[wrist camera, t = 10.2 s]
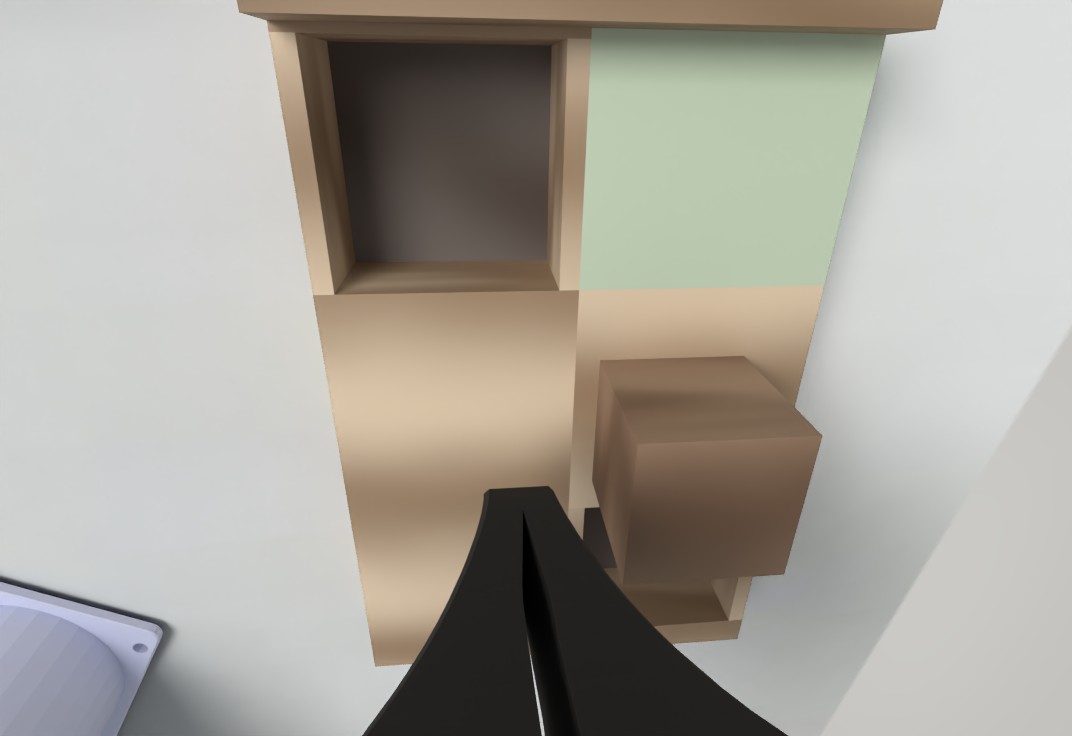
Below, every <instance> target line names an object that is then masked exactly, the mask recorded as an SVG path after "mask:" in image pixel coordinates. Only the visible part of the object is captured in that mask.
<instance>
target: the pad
mask: <svg viewBox="0 0 1072 736" xmlns="http://www.w3.org/2000/svg"><path fill="white" fill-rule="evenodd" d="M885 37H886V35H878V34H835V33H792V32H749V31H706V30H663V29H621V28H592V36H591V57H590V77H589V98H588V118H587V139H586V160H585V180H584V201H583V221H582V242H581V263H580V283H579V290H615V289H616V290H617V289H669V288H722V287H775V286H824V285H825V281H826V277H827V273H828V269H829V265H830V261H831V257H832V253H833V248H834V244H835V240H836V236H837V232H838V228H839V224H840V220H841V216H842V212H843V208H844V204H845V200H846V196H847V192H848V188H849V184H850V179H851V175H852V171H853V167H854V163H855V159H856V155H857V151H858V147H859V143H860V139H861V135H862V131H863V127H864V123H865V119H866V115H867V110H868V106H869V102H870V98H871V94H872V90H873V86H874V82H875V78H876V74H877V70H878V66H879V62H880V58H881V54H882V50H883V46H884V41H885Z"/></svg>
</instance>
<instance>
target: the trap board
mask: <svg viewBox="0 0 1072 736" xmlns="http://www.w3.org/2000/svg"><path fill="white" fill-rule="evenodd" d="M237 3H238V8H239V12H240V13H244V14H247V15H251V16H254V17H257V18H261V19H264V20H267V24H268V30H269V36H270V42H271V48H272V54H273V60H274V66H275V72H276V78H277V84H278V90H279V95H280V101H281V107H282V113H283V119H284V125H285V131H286V137H287V143H288V149H289V155H290V161H291V167H292V173H293V179H294V185H295V191H296V197H297V203H298V209H299V215H300V221H301V227H302V233H303V239H304V244H305V250H306V256H307V262H308V268H309V274H310V280H311V286H312V292H313V298H314V304H315V310H316V316H317V322H318V328H319V334H320V340H321V346H322V352H323V358H324V364H325V370H326V376H327V382H328V388H329V393H330V399H331V405H332V411H333V417H334V423H335V429H336V435H337V441H338V447H339V453H340V459H341V465H342V471H343V477H344V483H345V489H346V495H347V501H348V507H349V513H350V519H351V525H352V531H353V537H354V542H355V548H356V554H357V560H358V566H359V572H360V578H361V584H362V590H363V596H364V602H365V608H366V614H367V620H368V626H369V632H370V638H371V644H372V650H373V656H374V662H375V667H376V666H389V665H402V664H413V663H414V661H415V659H416V658H417V656H418V654H419V653H420V651H421V650H422V648H423V646H424V645H425V643H426V641H427V640H428V638H429V636H430V634H431V632H432V631H433V629H434V627H435V625H436V624H437V622H438V620H439V618H440V616H441V614H442V612H443V610H444V608H445V606H446V604H447V602H448V600H449V598H450V596H451V594H452V592H453V589H454V587H455V585H456V583H457V580H458V578H459V576H460V574H461V572H462V569H463V567H464V564H465V562H466V559H467V556H468V554H469V551H470V548H471V545H472V543H473V540H474V537H475V534H476V531H477V527H478V524H479V520H480V516H481V512H482V507H483V498H484V493H485V492H486V491H487V490H489V489H498V488H517V487H536V486H549V487H550V488H551V489H552V490H553V491H554V493H555V495H556V497H557V499H558V501H559V503H560V505H561V506H562V508H563V510H564V512H565V513H566V515H567V517H568V518H569V520H570V521H571V523H572V525H573V526H574V528H575V529H576V531H577V533H578V534H579V536H580V537H581V539H582V540H583V541H584V543H585V544H586V546H587V547H588V548H589V550H590V551H591V553H592V554H593V555H594V557H595V558H596V560H597V561H598V562H599V564H600V565H601V566H602V568H603V569H604V570H605V571H606V573H607V574H608V575H609V577H610V578H611V579H612V580H613V581H614V583H615V584H616V585H617V586H618V588H619V589H620V590H621V591H622V592H623V594H624V595H625V596H626V597H627V598H628V599H629V600H630V602H631V603H632V604H633V605H634V606H635V607H636V608H637V609H638V610H639V612H640V613H641V614H642V615H643V616H644V617H645V618H646V619H647V620H648V621H649V622H650V623H651V624H652V625H653V626H654V627H655V628H656V629H657V630H658V631H659V632H660V633H661V634H662V635H663V636H664V637H665V638H666V639H667V640H668V641H669V642H670V643H671V644H676V643H689V642H702V641H715V640H728V639H737V638H738V634H739V630H740V626H741V622H742V618H743V614H744V610H745V606H746V602H747V598H748V593H749V589H750V585H751V581H752V577H753V576H752V577H737V578H722V579H707V580H693V581H678V582H663V583H648V584H633V585H622V581H621V578H620V574H619V571H618V568H617V564H616V561H615V557H614V554H613V551H612V547H611V544H610V540H609V537H608V534H607V530H606V527H605V523H604V520H603V517H602V513H601V510H600V506H599V503H598V500H597V496H596V493H595V489H594V486H593V483H592V473H593V458H594V444H595V429H596V415H597V400H598V385H599V371H600V360H624V359H657V358H689V357H721V356H745V357H746V359H747V360H748V361H749V362H750V363H751V364H752V365H753V366H754V367H755V368H756V369H757V370H758V371H759V372H760V373H761V374H762V375H763V376H764V377H765V378H766V379H767V380H768V381H769V382H770V383H771V384H772V385H773V386H774V387H775V388H776V389H777V390H778V391H779V392H780V393H781V394H782V395H783V396H784V397H785V398H786V399H787V400H788V401H789V402H790V403H791V404H792V405H793V406H794V407H795V403H796V399H797V395H798V391H799V386H800V382H801V378H802V374H803V370H804V366H805V362H806V358H807V354H808V350H809V346H810V342H811V338H812V334H813V330H814V326H815V322H816V317H817V313H818V309H819V305H820V301H821V297H822V293H823V289H824V286H775V287H722V288H669V289H617V290H616V289H615V290H579V283H580V263H581V242H582V221H583V201H584V180H585V160H586V139H587V118H588V98H589V77H590V57H591V36H592V28H621V29H663V30H706V31H749V32H792V33H835V34H878V35H888V34H897V33H906V32H915V31H924V30H933V29H935V28H936V25H937V21H938V18H939V14H940V10H941V7H942V3H943V0H237ZM527 638H528V637H527ZM528 645H529V643H528ZM529 652H530V648H529ZM530 655H531V653H530Z"/></svg>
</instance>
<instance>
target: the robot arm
mask: <svg viewBox="0 0 1072 736" xmlns="http://www.w3.org/2000/svg"><path fill="white" fill-rule="evenodd" d="M162 635H163V631H162V629H161V628H160V627H159V626H158V625H156V624H153V623H150V622H146V621H142V620H139V619H135V618H131V617H128V616H124V615H120V614H117V613H113V612H109V611H106V610H102V609H98V608H95V607H91V606H87V605H84V604H80V603H76V602H73V601H69V600H65V599H61V598H58V597H54V596H50V595H47V594H43V593H39V592H36V591H32V590H28V589H25V588H21V587H17V586H14V585H10V584H6V583H3V582H0V736H117V734H118V732H119V730H120V728H121V726H122V723H123V721H124V719H125V717H126V715H127V712H128V710H129V708H130V706H131V704H132V701H133V699H134V697H135V695H136V693H137V690H138V688H139V686H140V684H141V682H142V680H143V677H144V675H145V673H146V671H147V669H148V666H149V664H150V662H151V660H152V658H153V655H154V653H155V651H156V649H157V647H158V644H159V642H160V640H161V638H162ZM527 637H528V638H527ZM528 643H529V645H528ZM529 648H530V652H529ZM530 653H531V659H532V664H533V669H534V675H535V680H536V686H537V691H538V696H539V702H540V707H541V712H542V718H543V725H544V732H545V736H788V735H786V734H785V733H783V732H782V731H780V730H779V729H778V728H776V727H775V726H773V725H772V724H770V723H769V722H767V721H766V720H764V719H763V718H761V717H760V716H758V715H757V714H755V713H754V712H753V711H751V710H750V709H749V708H747V707H746V706H745V705H743V704H742V703H741V702H739V701H738V700H737V699H736V698H734V697H733V696H732V695H730V694H729V693H728V692H727V691H725V690H724V689H723V688H721V687H720V686H719V685H718V684H717V683H716V682H714V681H713V680H712V679H711V678H710V677H709V676H707V675H706V674H705V673H704V672H703V671H702V670H701V669H699V668H698V667H697V666H696V665H695V664H694V663H692V662H691V661H690V660H689V659H688V658H687V657H685V656H684V655H683V654H682V653H681V652H680V651H679V650H677V649H676V648H675V647H674V646H673V645H672V644H671V643H670V642H669V641H668V640H667V639H666V638H665V637H664V636H663V635H662V634H661V633H660V632H659V631H658V630H657V629H656V628H655V627H654V626H653V625H652V624H651V623H650V622H649V621H648V620H647V619H646V618H645V617H644V616H643V615H642V614H641V613H640V612H639V610H638V609H637V608H636V607H635V606H634V605H633V604H632V603H631V602H630V600H629V599H628V598H627V597H626V596H625V595H624V594H623V592H622V591H621V590H620V589H619V588H618V586H617V585H616V584H615V583H614V581H613V580H612V579H611V578H610V577H609V575H608V574H607V573H606V571H605V570H604V569H603V568H602V566H601V565H600V564H599V562H598V561H597V560H596V558H595V557H594V555H593V554H592V553H591V551H590V550H589V548H588V547H587V546H586V544H585V543H584V541H583V540H582V539H581V537H580V536H579V534H578V533H577V531H576V529H575V528H574V526H573V525H572V523H571V521H570V520H569V518H568V517H567V515H566V513H565V512H564V510H563V508H562V506H561V505H560V503H559V501H558V499H557V497H556V495H555V493H554V491H553V490H552V489H551V488H550V487H549V486H536V487H517V488H498V489H489V490H487V491H486V492H485V493H484V498H483V507H482V512H481V516H480V520H479V524H478V527H477V531H476V534H475V537H474V540H473V543H472V545H471V548H470V551H469V554H468V556H467V559H466V562H465V564H464V567H463V569H462V572H461V574H460V576H459V578H458V580H457V583H456V585H455V587H454V589H453V592H452V594H451V596H450V598H449V600H448V602H447V604H446V606H445V608H444V610H443V612H442V614H441V616H440V618H439V620H438V622H437V624H436V625H435V627H434V629H433V631H432V632H431V634H430V636H429V638H428V640H427V641H426V643H425V645H424V646H423V648H422V650H421V651H420V653H419V654H418V656H417V658H416V659H415V661H414V663H413V664H412V666H411V667H410V669H409V671H408V672H407V674H406V675H405V677H404V678H403V680H402V681H401V683H400V684H399V686H398V687H397V689H396V690H395V692H394V693H393V694H392V696H391V697H390V699H389V700H388V701H387V703H386V704H385V705H384V707H383V708H382V709H381V711H380V712H379V713H378V715H377V716H376V718H375V719H374V720H373V722H372V723H371V724H370V726H369V727H368V728H367V730H366V731H365V732H364V734H363V735H362V736H542V735H541V728H540V721H539V715H538V708H537V702H536V695H535V688H534V681H533V674H532V667H531V660H530Z"/></svg>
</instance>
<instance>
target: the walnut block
mask: <svg viewBox="0 0 1072 736" xmlns="http://www.w3.org/2000/svg"><path fill="white" fill-rule="evenodd" d="M821 439H822V435H821V434H820V433H819V432H818V431H817V430H816V429H815V428H814V427H813V426H812V425H811V424H810V423H809V422H808V421H807V420H806V419H805V418H804V417H803V416H802V415H801V414H800V413H799V412H798V411H797V410H796V408H795V407H794V406H793V405H792V404H791V403H790V402H789V401H788V400H787V399H786V398H785V397H784V396H783V395H782V394H781V393H780V392H779V391H778V390H777V389H776V388H775V387H774V386H773V385H772V384H771V383H770V382H769V381H768V380H767V379H766V378H765V377H764V376H763V375H762V374H761V373H760V372H759V371H758V370H757V369H756V368H755V367H754V366H753V365H752V364H751V363H750V362H749V361H748V360H747V359H746V357H745V356H721V357H689V358H657V359H624V360H600V371H599V385H598V400H597V415H596V429H595V444H594V458H593V473H592V483H593V486H594V489H595V493H596V496H597V500H598V503H599V506H600V510H601V513H602V517H603V520H604V523H605V527H606V530H607V534H608V537H609V540H610V544H611V547H612V551H613V554H614V557H615V561H616V564H617V568H618V571H619V574H620V578H621V581H622V585H633V584H648V583H663V582H678V581H693V580H707V579H722V578H737V577H752V576H767V575H782V574H784V572H785V569H786V565H787V562H788V558H789V554H790V551H791V547H792V544H793V540H794V536H795V533H796V529H797V526H798V522H799V518H800V515H801V511H802V508H803V504H804V500H805V497H806V493H807V490H808V486H809V482H810V479H811V475H812V471H813V468H814V464H815V461H816V457H817V453H818V450H819V446H820V443H821Z"/></svg>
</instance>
